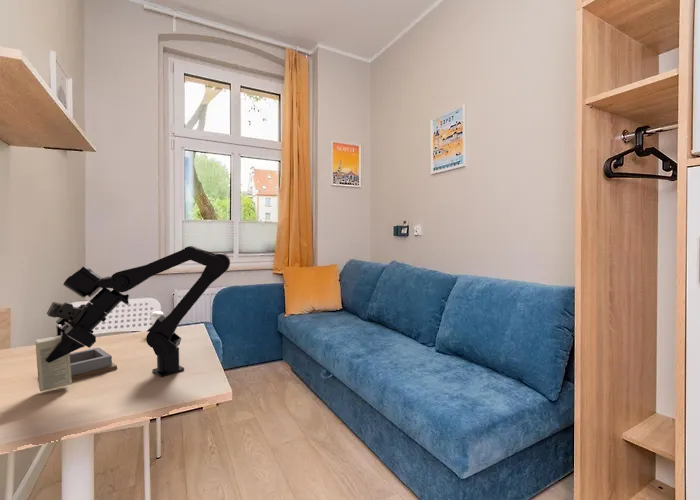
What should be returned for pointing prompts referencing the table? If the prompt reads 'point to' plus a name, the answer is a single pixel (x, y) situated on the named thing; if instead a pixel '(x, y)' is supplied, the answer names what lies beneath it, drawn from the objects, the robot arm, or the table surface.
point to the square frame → (89, 360)
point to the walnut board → (94, 372)
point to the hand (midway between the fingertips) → (46, 359)
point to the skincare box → (51, 365)
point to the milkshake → (155, 316)
